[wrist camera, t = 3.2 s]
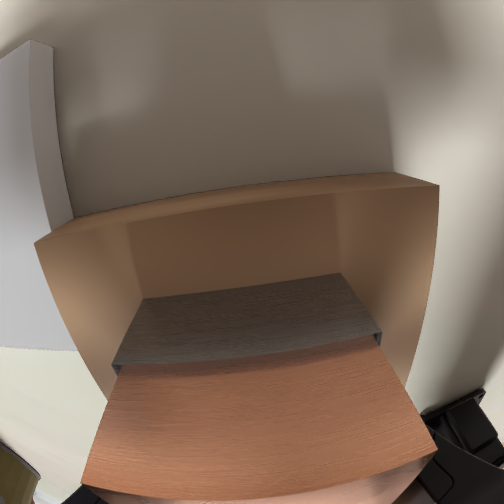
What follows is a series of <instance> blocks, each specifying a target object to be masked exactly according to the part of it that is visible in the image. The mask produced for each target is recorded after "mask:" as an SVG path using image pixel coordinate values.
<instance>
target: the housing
mask: <svg viewBox="0 0 504 504" xmlns="http://www.w3.org/2000/svg"><path fill="white" fill-rule="evenodd" d="M381 337H382V330H381V329H380V327H379V326H378V324H377V323H376V322H375V320H374V319H373V317H372V316H371V314H370V313H369V312H368V310H367V309H366V307H365V306H364V304H363V303H362V302H361V300H360V299H359V297H358V296H357V295H356V293H355V292H354V290H353V289H352V288H351V286H350V285H349V284H348V282H347V281H346V279H345V278H344V277H343V275H342V274H341V273H333V274H327V275H321V276H315V277H308V278H302V279H295V280H288V281H281V282H274V283H267V284H260V285H253V286H246V287H238V288H231V289H223V290H215V291H207V292H199V293H190V294H182V295H173V296H164V297H155V298H145V299H143V300H142V302H141V304H140V306H139V308H138V310H137V312H136V314H135V316H134V318H133V320H132V322H131V324H130V326H129V328H128V330H127V332H126V334H125V336H124V338H123V340H122V342H121V344H120V347H119V349H118V351H117V353H116V355H115V357H114V359H113V362H112V364H111V366H112V367H113V369H114V371H115V373H116V375H117V380H116V382H115V385H114V387H113V390H112V392H111V395H110V397H109V400H108V403H107V405H106V408H105V411H104V413H103V416H102V419H101V421H100V424H99V427H98V430H97V433H96V436H95V439H94V441H93V444H92V447H91V450H90V453H89V457H88V460H87V463H86V466H85V469H84V472H83V476H82V479H81V484H82V485H84V486H85V487H86V488H88V489H89V490H90V491H92V492H93V493H94V494H96V495H97V496H99V497H100V498H101V499H103V500H104V501H106V502H107V503H109V504H392V503H393V502H394V501H395V500H396V499H397V497H398V496H399V495H400V494H401V493H402V492H403V491H404V490H405V489H406V488H407V487H408V486H409V485H410V483H411V482H412V481H413V480H414V479H415V478H416V477H417V475H418V474H419V473H420V472H421V471H422V469H423V468H424V467H425V466H426V464H427V463H428V462H429V461H430V459H431V458H432V457H433V455H434V454H435V453H436V452H437V450H438V448H437V446H436V445H435V443H434V441H433V439H432V437H431V435H430V433H429V431H428V429H427V428H426V426H425V424H424V422H423V420H422V418H421V417H420V415H419V413H418V411H417V409H416V408H415V406H414V404H413V402H412V400H411V399H410V397H409V395H408V393H407V392H406V390H405V388H404V387H403V385H402V383H401V381H400V380H399V378H398V376H397V375H396V373H395V371H394V370H393V368H392V366H391V365H390V363H389V361H388V360H387V358H386V356H385V355H384V353H383V351H382V350H381V348H380V343H381Z"/></svg>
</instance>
